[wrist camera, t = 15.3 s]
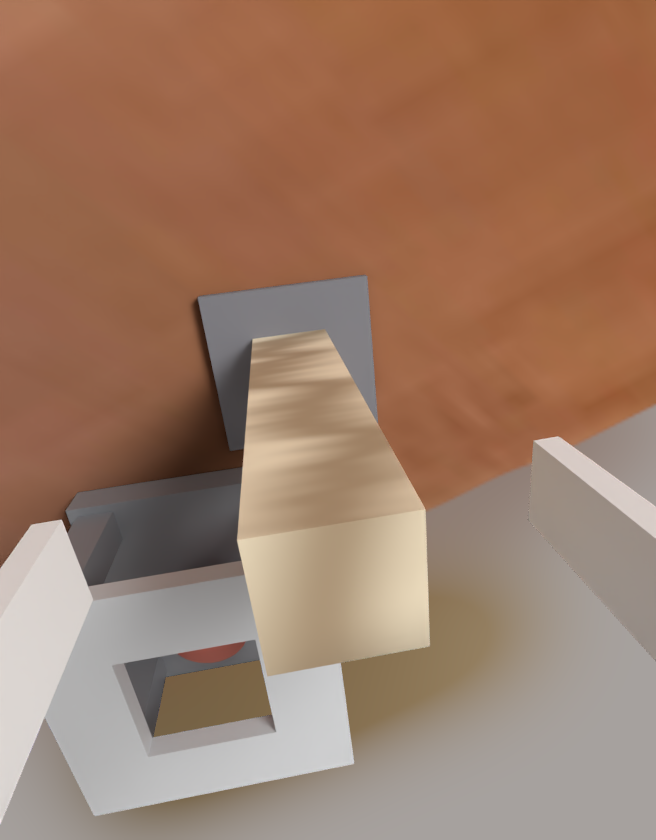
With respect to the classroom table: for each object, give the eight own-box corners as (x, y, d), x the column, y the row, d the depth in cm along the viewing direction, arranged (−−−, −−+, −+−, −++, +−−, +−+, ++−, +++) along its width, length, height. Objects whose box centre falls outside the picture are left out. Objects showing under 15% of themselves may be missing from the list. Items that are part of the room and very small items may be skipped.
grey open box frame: (138, 658, 35) (94, 816, 26) (77, 492, 29) (-6, 617, 20) (330, 624, 36) (354, 763, 27) (307, 457, 30) (326, 561, 21)
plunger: (190, 601, 33) (177, 669, 28) (175, 548, 31) (158, 611, 26) (254, 589, 33) (253, 655, 28) (243, 537, 31) (240, 597, 27)
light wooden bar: (264, 406, 28) (267, 676, 12) (252, 338, 27) (236, 540, 10) (332, 396, 28) (429, 646, 12) (325, 329, 27) (425, 509, 10)
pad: (230, 446, 29) (230, 450, 29) (199, 296, 26) (197, 297, 25) (376, 424, 30) (378, 428, 30) (364, 274, 27) (367, 276, 26)
